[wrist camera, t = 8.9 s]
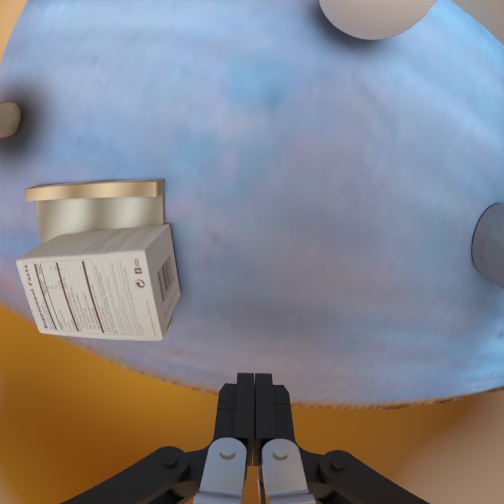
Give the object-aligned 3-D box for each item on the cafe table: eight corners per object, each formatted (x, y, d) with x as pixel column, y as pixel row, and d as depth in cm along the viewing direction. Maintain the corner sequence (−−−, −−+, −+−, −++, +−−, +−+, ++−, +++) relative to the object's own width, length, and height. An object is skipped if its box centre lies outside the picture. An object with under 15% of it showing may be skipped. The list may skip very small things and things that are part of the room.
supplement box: (182, 298, 27) (74, 298, 27) (171, 221, 25) (57, 232, 25) (164, 345, 20) (39, 335, 20) (143, 250, 18) (12, 258, 18)
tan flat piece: (164, 178, 24) (156, 181, 22) (171, 319, 29) (166, 333, 26) (37, 185, 23) (24, 189, 21) (57, 306, 28) (47, 316, 26)
